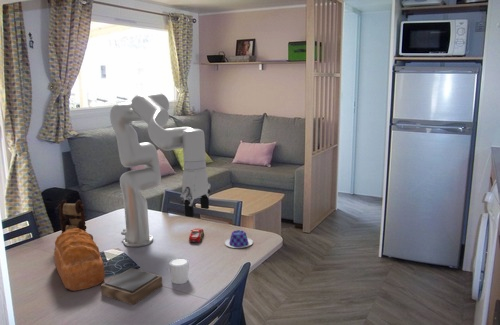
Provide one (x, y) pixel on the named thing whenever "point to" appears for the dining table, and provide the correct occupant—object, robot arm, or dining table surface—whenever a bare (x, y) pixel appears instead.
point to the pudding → (238, 240)
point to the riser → (131, 286)
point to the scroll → (72, 216)
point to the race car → (196, 235)
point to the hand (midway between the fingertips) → (197, 212)
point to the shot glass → (179, 270)
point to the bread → (78, 260)
